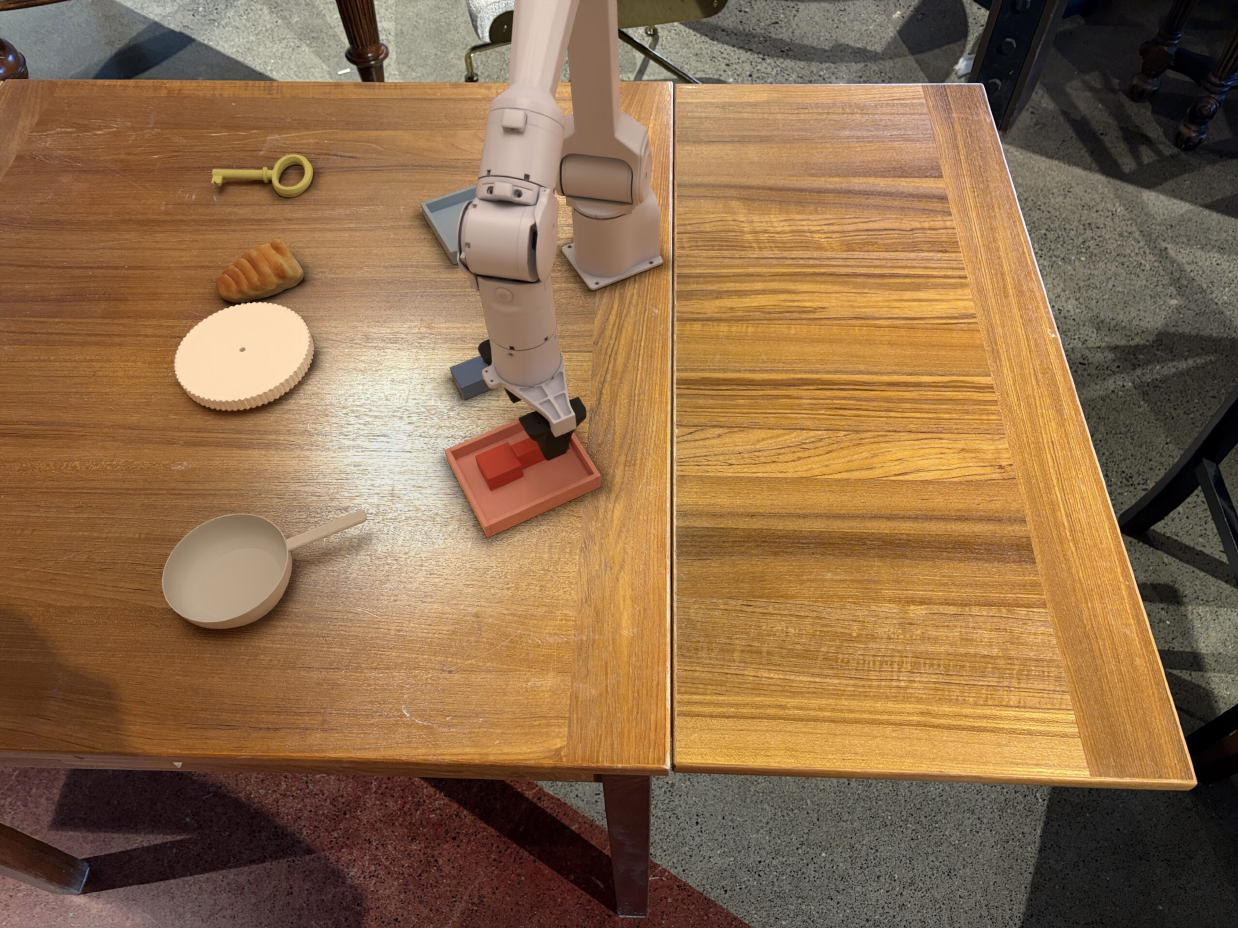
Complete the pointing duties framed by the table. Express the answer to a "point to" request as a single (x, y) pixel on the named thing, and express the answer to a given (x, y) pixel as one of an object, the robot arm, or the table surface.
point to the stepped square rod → (470, 377)
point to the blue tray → (447, 217)
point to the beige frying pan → (236, 568)
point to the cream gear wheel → (244, 356)
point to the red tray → (520, 480)
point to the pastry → (260, 273)
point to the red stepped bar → (508, 462)
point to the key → (270, 175)
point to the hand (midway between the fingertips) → (538, 425)
